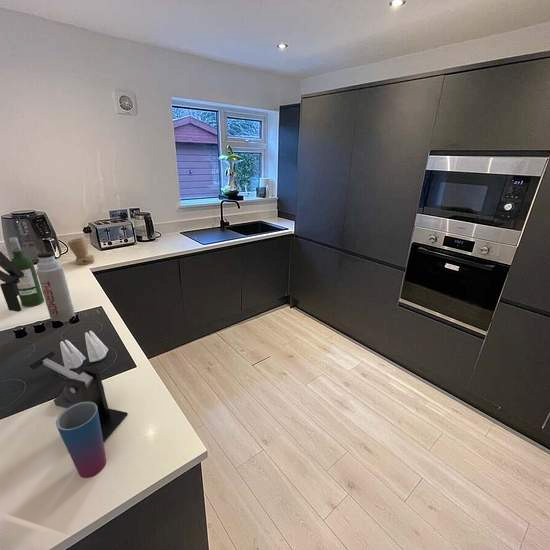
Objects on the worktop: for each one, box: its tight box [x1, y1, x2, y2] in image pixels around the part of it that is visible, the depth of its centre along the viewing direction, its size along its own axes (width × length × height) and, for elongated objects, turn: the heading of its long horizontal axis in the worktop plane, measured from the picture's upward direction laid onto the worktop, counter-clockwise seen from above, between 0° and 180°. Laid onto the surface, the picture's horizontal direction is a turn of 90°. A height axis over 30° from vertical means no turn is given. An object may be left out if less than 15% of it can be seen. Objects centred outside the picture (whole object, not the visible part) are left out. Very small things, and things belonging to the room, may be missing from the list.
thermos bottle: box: [35, 251, 76, 323], centre depth 112 cm, size 8×8×28 cm
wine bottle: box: [8, 236, 45, 308], centre depth 124 cm, size 8×8×30 cm
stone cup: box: [67, 237, 95, 265], centre depth 179 cm, size 15×12×15 cm
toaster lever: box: [29, 350, 93, 388], centre depth 66 cm, size 13×5×2 cm, turn 78°
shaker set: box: [59, 330, 109, 370], centre depth 91 cm, size 12×4×11 cm, turn 119°
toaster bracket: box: [64, 366, 129, 444], centre depth 68 cm, size 11×9×16 cm
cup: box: [55, 402, 107, 479], centre depth 59 cm, size 7×7×15 cm
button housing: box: [53, 383, 105, 409], centre depth 78 cm, size 8×8×4 cm
